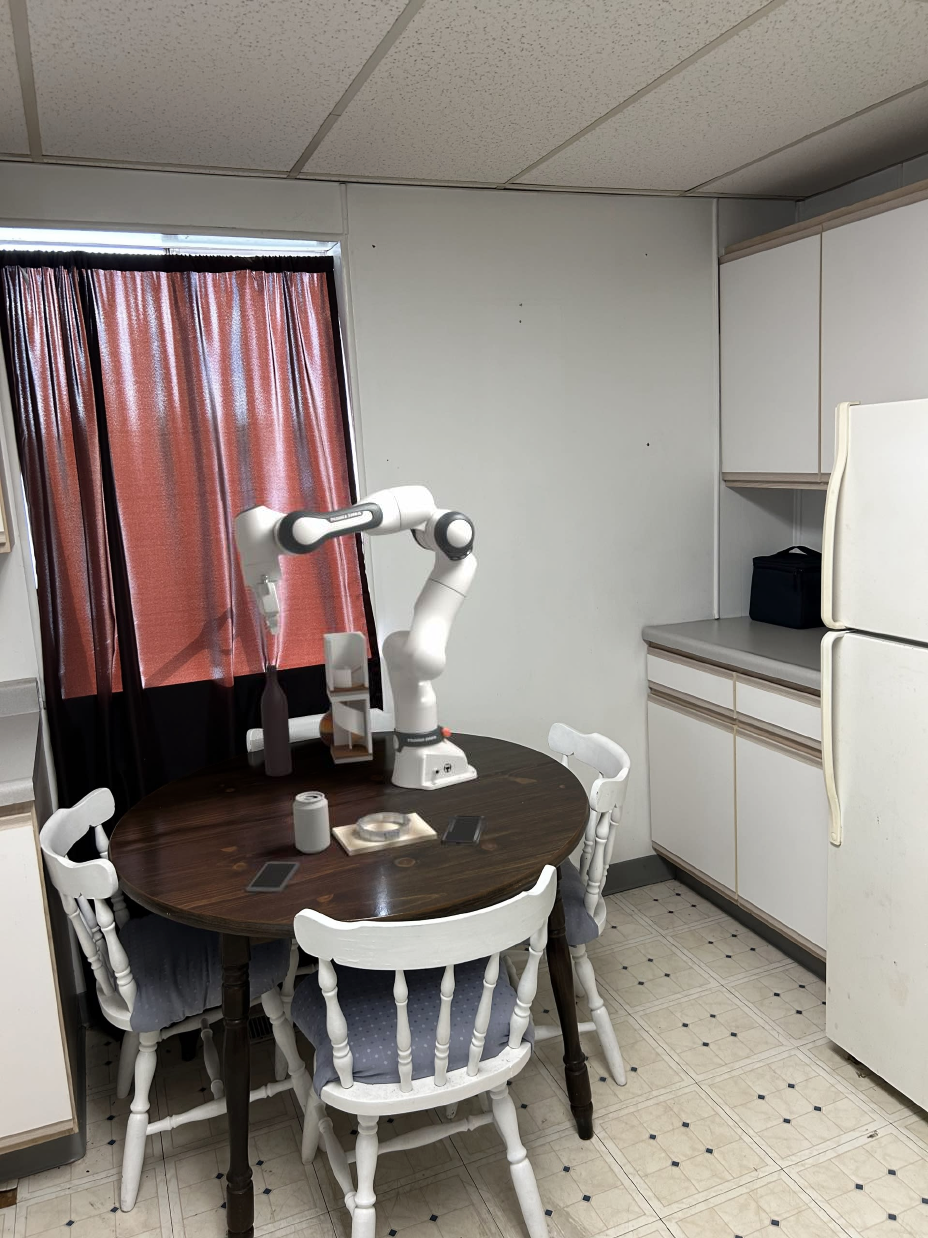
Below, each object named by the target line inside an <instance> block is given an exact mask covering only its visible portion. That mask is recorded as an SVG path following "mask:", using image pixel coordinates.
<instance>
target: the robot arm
mask: <svg viewBox="0 0 928 1238" xmlns="http://www.w3.org/2000/svg"><path fill="white" fill-rule="evenodd" d="M233 521H234V522H233V523H234V524H233V527H234V529H233V530H234V537H235V542H236V543H235V544H236V547H237V550H238V552H239V554H240V555H239V556H240V558H241V559H240V567H241V568H240V569H241V571H242V577H243V581H244V586H245V587H248V586H250V588H251V592H252V593H253V594H254V597H255V600H256V604H257V607H258V610H259V612H260V614H261V615H263V616H264V618H265V622H266V625H267V629H268V632H269V633H271V634H272V635H278V634H279V633H280V628H279V622H278V621H279V620H278V614H280V613H281V609H280V603H279V600H278V594H277V589H276V588H279V582H278V581H280V580H283V574H282V573H283V572H282V569H281V565H280V559H279V556H288V557H293V556H294V557H295V556H299V555H307V554H310V553H312V552H314V551H316V550H317V549H319V547H320V546H322V545H323V544H324V543H326V542H327V541H329V540H333V539H337V538H341V537H344V536H348V535H351V534H352V535H353V534H356V533H357V534H358V533H363V534H366V535H368V536H374V537H375V536H376V537H377V536H378V537H379V536H387V535H391V534H397V533H400V532H403V531H408V530H409V531H410V532H411V535H412V538H413V539H414V541H415V542H416V544H417V545H418V546H419V547H421V548H422V549H424V550H428V551H431V552H434V554H435V555H434V557H435V558H434V565H433V568H432V570H431V571H430V573H429V574H428V577H427V579H426V581H425V583H424V585H423V587H422V589H421V591H420V593H419V595H418V597H417V598H416V601H415V603H414V607H413V610H414V611H413V618H412V622H411V626H410V629H409V630H398V631H394V632H392V633H390V634H388V635H387V636H386V638H384V640H383V643H382V647H381V652H382V656H383V659H384V661H385V665H386V670H387V675H388V679H389V680H388V681H389V685H390V688H391V693H392V699H393V712H394V726H395V727H393V747H394V750H395V757H394V767H393V773H392V777H391V782H392V784H394V785H396V786H398V787H401V788H402V787H403V788H408V789H421V790H426V791H433V790H436V789H440V788H444V787H447V786H451V785H455V784H460V783H463V782H467V781H471V780H474V779H477V777H478V774H477V770H476V769H475V768H474V767H473V766H472V765H470V764H468V759H467V756H466V754H465V752H464V751H463V750H462V749H461V748H459V747H458V746H457V745H455V744H454V743H452V742H451V741H449V740H448V739H446V738H450V736H451V735H452V732H451V730H450V729H449V728H447V727H443V726H441V725H440V724H438V713H437V712H438V711H437V707H438V706H437V697H436V696H437V695H436V693H435V691H434V689H433V686H432V682H431V681H433V680H436V679H437V678H439V677H440V676H441V675H442V674H443V672H444V670H445V668H446V664H447V657H446V650H447V647H448V642H449V638H450V633H451V630H452V629H453V626H454V622H455V620H456V618H457V616H458V613H459V612H460V610H461V608H462V605H463V604H464V602H465V600H466V598H467V595H468V594H469V591H470V589H471V586H472V584H473V581H474V578H475V574H476V572H477V567H478V563H477V560H476V557H475V556H474V555H473V554H472V552H473V551H474V550H473V549H474V541H475V534H476V533H475V526H474V523H473V521H472V520H471V519H470V517H469V516H467V515H465V514H464V513H462V512H460V511H455V510H450V509H444V508H443V509H439V508H437V507H436V505H435V502H434V498H433V496H432V494H431V492H430V491H429V490H428V489H427V488H426V487H424V486H422V485H404V486H403V485H402V486H395V487H390V488H386V489H382V490H378V491H375V492H373V493H371V494H368V495H366V496H364V497H362V498H360V500H359V501H358V502H357V503H355V504H353V505H351V506H348V507H343V508H339V509H334V510H331V511H326V512H315V511H311V510H305V509H298V510H293V511H290V512H289V513H284V512H278V511H275V510H274V509H273V510H272V509H270V508H268V507H266V506H265V505H256V506H252V507H249V508H247V509H244V510H242V511H240V512H238V514H236V515H235V517H234V520H233Z"/></svg>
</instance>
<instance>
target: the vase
mask: <svg viewBox="0 0 928 1238" xmlns="http://www.w3.org/2000/svg"><path fill="white" fill-rule="evenodd" d="M328 702H329V710H328V711H327V712H326V713H324V715H323V716H322V717H321V719H320V720H319V723H318V733H319V736H320V740H321V741H322V743H323V744H325V746H328V747H330V748H331V746H330V745H334V730H333V714H332V702H331V700H330V698H329V697H328Z"/></svg>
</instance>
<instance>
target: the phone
mask: <svg viewBox="0 0 928 1238" xmlns="http://www.w3.org/2000/svg"><path fill="white" fill-rule="evenodd" d="M485 822H486V817H485V816H483V815H482V816H481V815H453V816H451V819H450V821H449V823H448V826H447V828H446V830H445V832H444V834H443V837H442V844H443V845H454V846H455V845H456V846H457V845H458V846H461V845H462V846H475V845H477V844H479V840H480V836H481V834H482V831H483V828H484V826H485Z"/></svg>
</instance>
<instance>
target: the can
mask: <svg viewBox="0 0 928 1238" xmlns="http://www.w3.org/2000/svg"><path fill="white" fill-rule="evenodd" d="M328 805H329V804H328V800H327V799H326V798H325V794H324V793H322V792H319V791H307V792H302V793H299V794H297V795H296V796H295V801H294V802H293V804H292V811H293V823H294V824H293V826H294V827H293V828H294V839H295V841H294V842H295V848H296V849H298V850H300V852H301V853H304V854H317V853H320V852H322V851H323V852H324V851H325V850H326V849H327V848H328V847H329V845H330V844H331V835H330V834H331V833H330V820H329V819H330V818H329V807H328Z"/></svg>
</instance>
